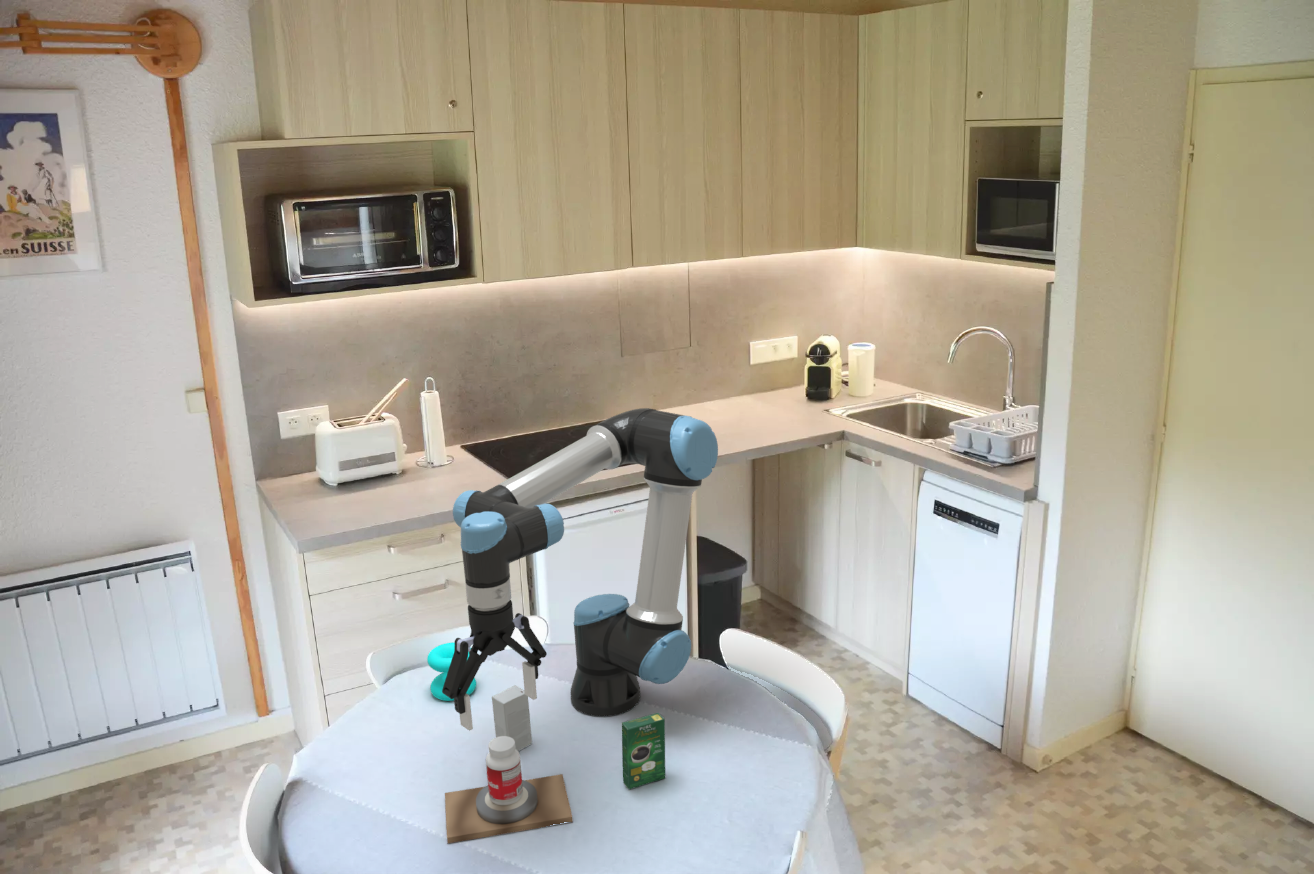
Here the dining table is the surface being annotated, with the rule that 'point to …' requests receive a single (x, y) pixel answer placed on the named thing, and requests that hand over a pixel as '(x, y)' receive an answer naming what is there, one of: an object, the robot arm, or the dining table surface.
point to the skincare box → (512, 716)
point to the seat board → (480, 828)
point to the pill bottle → (504, 771)
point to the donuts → (443, 669)
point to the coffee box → (643, 750)
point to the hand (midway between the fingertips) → (499, 711)
